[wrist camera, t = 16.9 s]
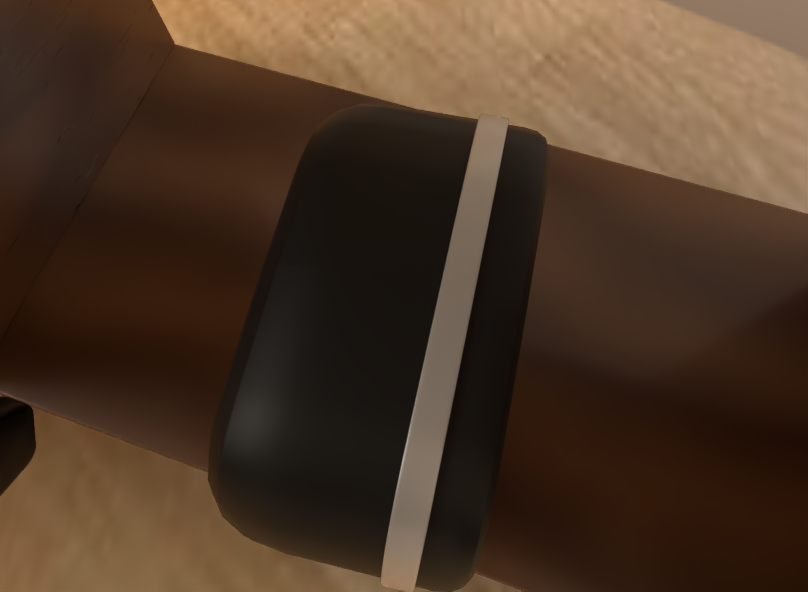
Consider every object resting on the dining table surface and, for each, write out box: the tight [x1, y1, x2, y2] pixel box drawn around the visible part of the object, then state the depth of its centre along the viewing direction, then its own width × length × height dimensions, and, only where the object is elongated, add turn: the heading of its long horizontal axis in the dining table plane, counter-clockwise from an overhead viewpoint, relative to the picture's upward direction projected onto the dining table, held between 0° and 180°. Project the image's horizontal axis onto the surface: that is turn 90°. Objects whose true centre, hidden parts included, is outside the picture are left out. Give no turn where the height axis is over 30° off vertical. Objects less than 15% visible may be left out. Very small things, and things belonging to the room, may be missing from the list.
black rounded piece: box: [208, 104, 550, 592], centre depth 13 cm, size 7×4×11 cm, turn 167°
